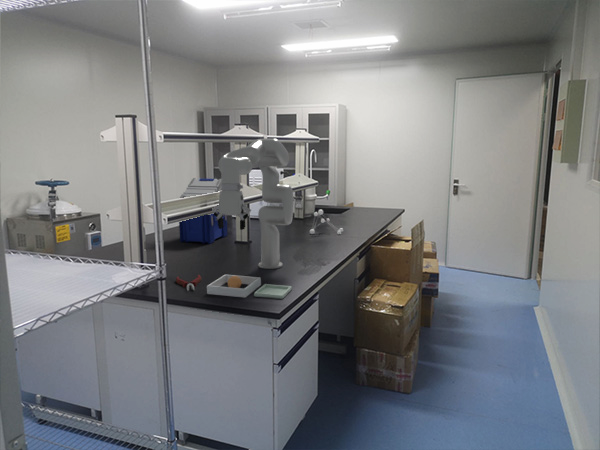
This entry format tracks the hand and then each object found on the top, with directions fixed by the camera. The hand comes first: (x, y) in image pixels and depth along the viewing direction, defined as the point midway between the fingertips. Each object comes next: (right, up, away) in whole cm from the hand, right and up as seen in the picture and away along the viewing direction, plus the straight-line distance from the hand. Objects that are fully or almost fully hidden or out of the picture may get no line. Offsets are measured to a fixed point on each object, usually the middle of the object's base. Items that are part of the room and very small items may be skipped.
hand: (231, 228), depth 188 cm
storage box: (-36, -8, +113) cm, 119 cm away
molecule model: (+48, -5, +131) cm, 140 cm away
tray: (+17, -28, +5) cm, 33 cm away
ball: (0, -24, +9) cm, 25 cm away
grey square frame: (0, -27, +10) cm, 28 cm away
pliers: (-23, -26, +16) cm, 39 cm away
